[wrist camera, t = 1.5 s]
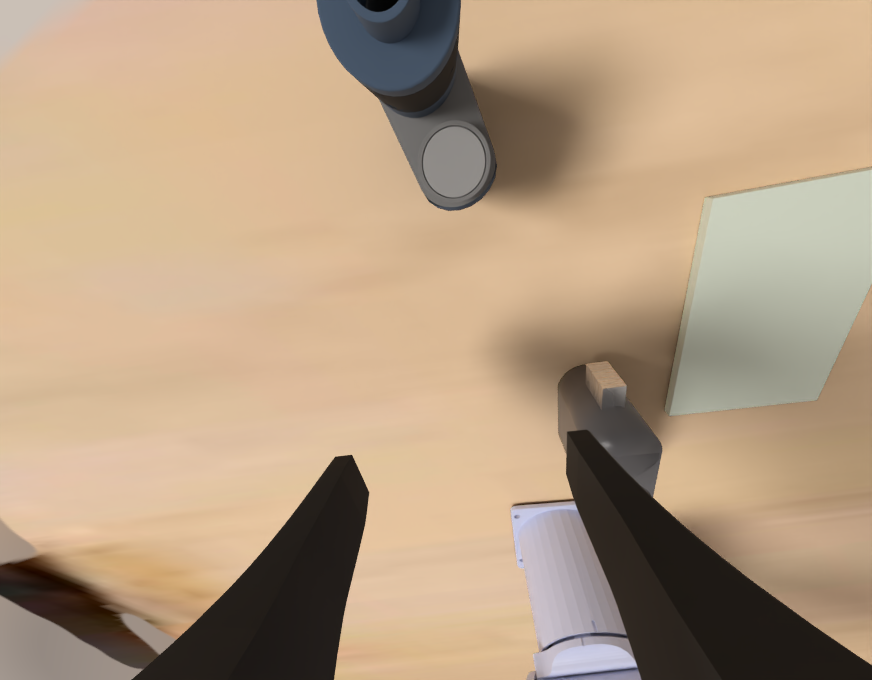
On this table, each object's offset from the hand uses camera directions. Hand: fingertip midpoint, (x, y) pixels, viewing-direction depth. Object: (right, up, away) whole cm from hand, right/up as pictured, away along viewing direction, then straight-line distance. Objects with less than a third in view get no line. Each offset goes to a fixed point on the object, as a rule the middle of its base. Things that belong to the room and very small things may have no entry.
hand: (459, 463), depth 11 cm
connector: (+10, -1, +12) cm, 15 cm away
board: (+18, +6, +8) cm, 21 cm away
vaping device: (-1, +14, +5) cm, 15 cm away
